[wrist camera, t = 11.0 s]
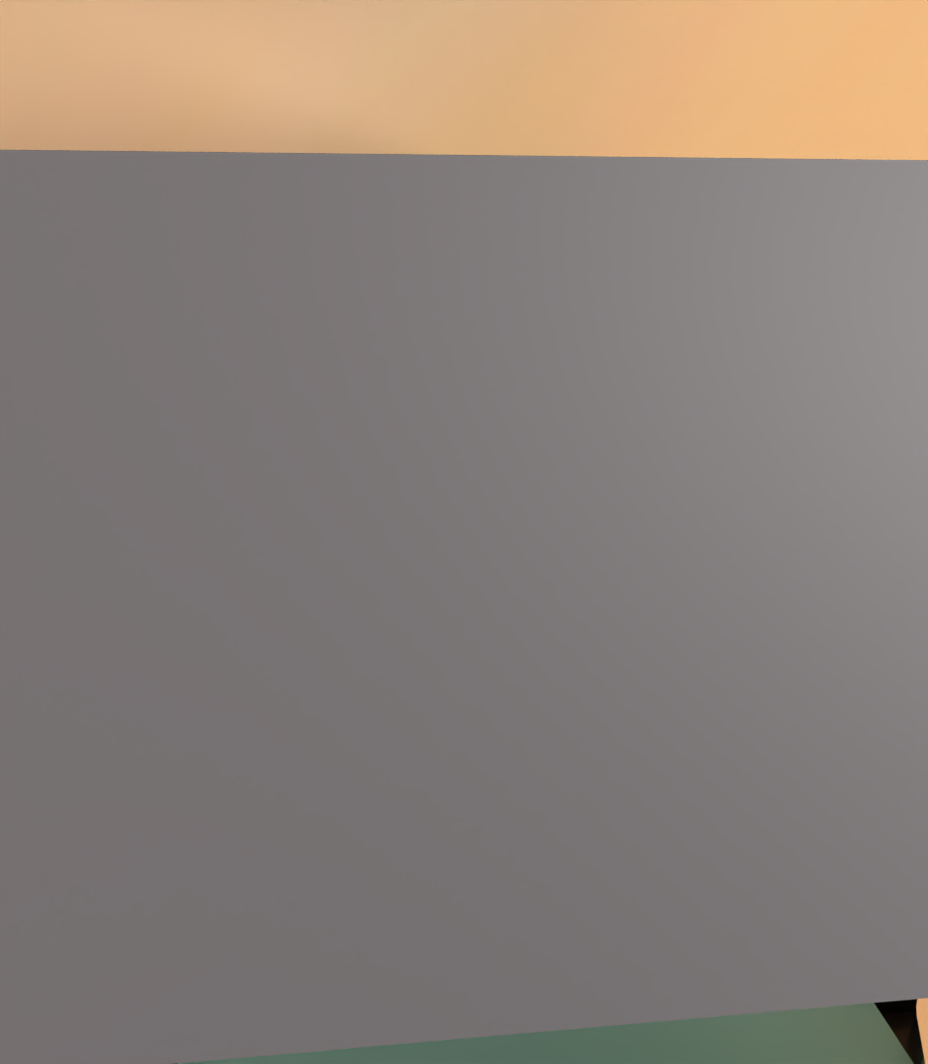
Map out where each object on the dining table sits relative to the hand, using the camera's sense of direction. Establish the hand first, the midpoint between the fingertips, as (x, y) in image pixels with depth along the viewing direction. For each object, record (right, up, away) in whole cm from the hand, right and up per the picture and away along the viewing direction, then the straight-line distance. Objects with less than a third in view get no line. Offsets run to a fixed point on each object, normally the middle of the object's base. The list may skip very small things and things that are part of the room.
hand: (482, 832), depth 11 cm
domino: (0, +8, +2) cm, 8 cm away
